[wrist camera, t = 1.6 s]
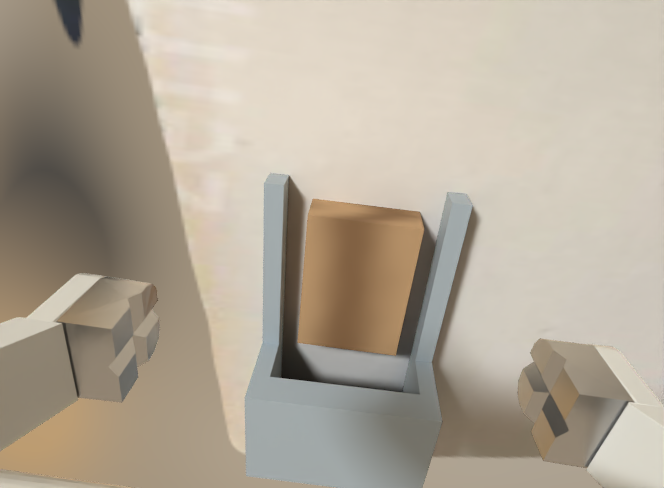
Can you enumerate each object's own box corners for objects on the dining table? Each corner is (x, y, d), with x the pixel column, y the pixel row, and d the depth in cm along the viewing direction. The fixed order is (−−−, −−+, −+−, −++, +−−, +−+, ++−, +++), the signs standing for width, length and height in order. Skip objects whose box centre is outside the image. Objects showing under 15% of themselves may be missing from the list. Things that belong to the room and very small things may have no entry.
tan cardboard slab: (419, 209, 28) (424, 229, 25) (393, 328, 33) (395, 355, 30) (313, 196, 28) (307, 214, 26) (303, 316, 33) (297, 342, 30)
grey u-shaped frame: (466, 194, 27) (495, 247, 21) (410, 416, 37) (419, 497, 30) (270, 173, 27) (241, 219, 21) (266, 399, 37) (246, 476, 31)
